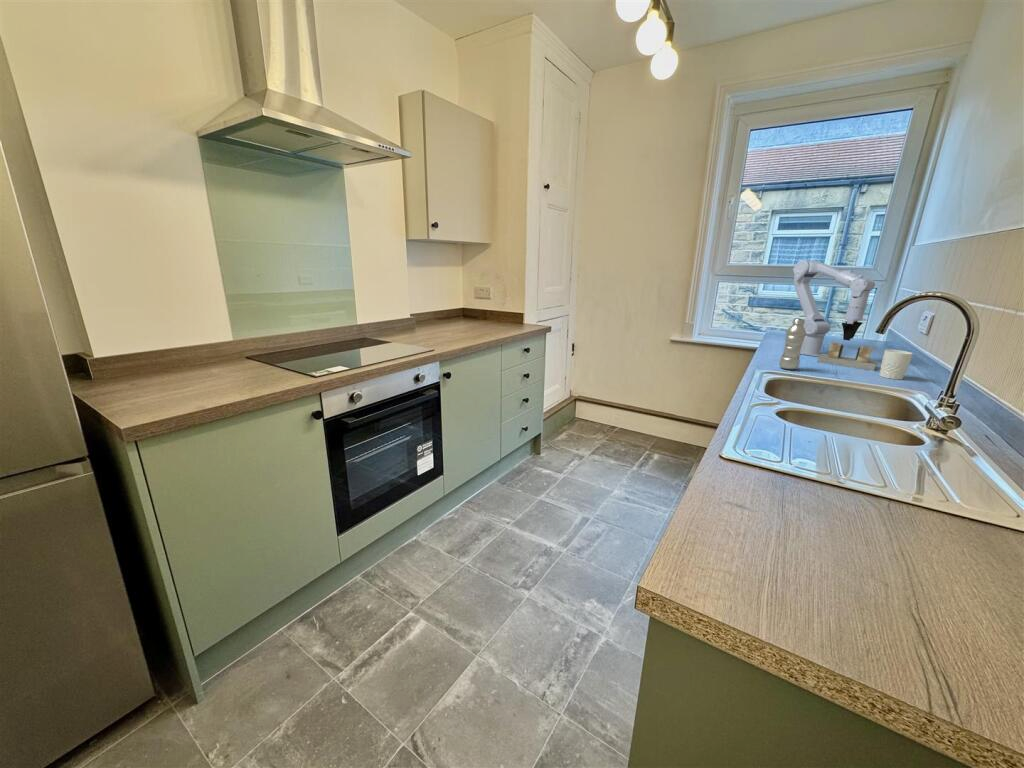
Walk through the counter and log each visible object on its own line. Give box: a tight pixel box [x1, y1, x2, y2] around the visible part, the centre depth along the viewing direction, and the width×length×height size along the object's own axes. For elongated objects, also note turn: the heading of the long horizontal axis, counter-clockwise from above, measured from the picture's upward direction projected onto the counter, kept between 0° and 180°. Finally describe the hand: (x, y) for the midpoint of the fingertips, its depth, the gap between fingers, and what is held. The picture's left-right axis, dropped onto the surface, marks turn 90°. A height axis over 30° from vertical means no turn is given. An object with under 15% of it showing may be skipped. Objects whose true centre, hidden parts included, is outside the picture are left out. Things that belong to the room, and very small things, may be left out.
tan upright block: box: [855, 345, 873, 363], centre depth 168 cm, size 4×4×7 cm
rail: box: [816, 353, 878, 372], centre depth 173 cm, size 19×8×3 cm, turn 45°
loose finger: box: [827, 341, 844, 358], centre depth 175 cm, size 4×4×7 cm
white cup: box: [878, 349, 914, 380], centre depth 154 cm, size 8×8×10 cm
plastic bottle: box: [778, 317, 806, 370], centre depth 160 cm, size 6×7×20 cm
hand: (848, 339), depth 176 cm, fingers open, 7 cm apart
